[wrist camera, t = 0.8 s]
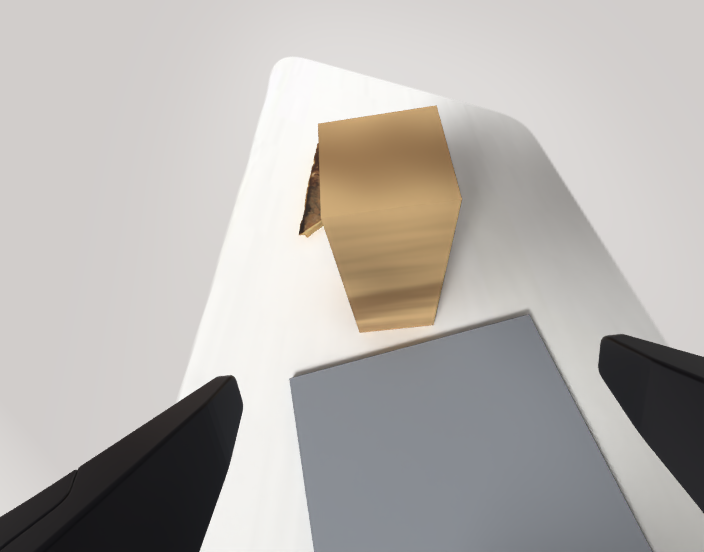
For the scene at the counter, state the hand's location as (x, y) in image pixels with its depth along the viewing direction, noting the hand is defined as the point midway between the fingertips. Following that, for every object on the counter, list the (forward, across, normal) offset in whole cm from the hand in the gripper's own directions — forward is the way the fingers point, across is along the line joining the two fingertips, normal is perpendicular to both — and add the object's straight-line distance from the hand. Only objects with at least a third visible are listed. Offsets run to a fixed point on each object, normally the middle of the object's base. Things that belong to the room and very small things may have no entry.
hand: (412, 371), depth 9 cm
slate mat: (+7, -2, +13) cm, 15 cm away
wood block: (+16, 0, +5) cm, 16 cm away
